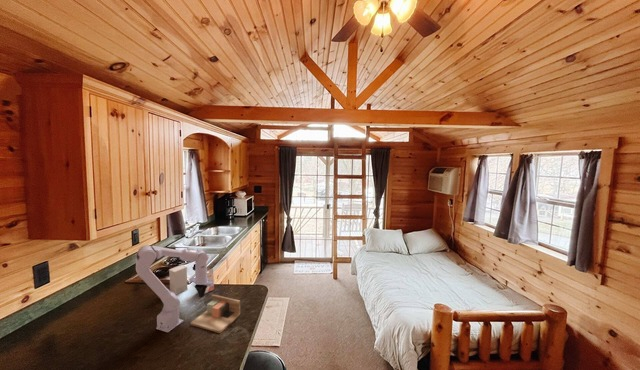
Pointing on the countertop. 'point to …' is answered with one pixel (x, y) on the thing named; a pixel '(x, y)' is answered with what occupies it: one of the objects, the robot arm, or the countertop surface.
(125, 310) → the countertop surface
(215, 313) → the salmon orange block
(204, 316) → the shelf
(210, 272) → the ink cartridge box
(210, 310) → the sage green block
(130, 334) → the countertop surface
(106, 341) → the countertop surface
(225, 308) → the bookend
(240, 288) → the countertop surface
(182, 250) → the robot arm
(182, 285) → the skincare box
